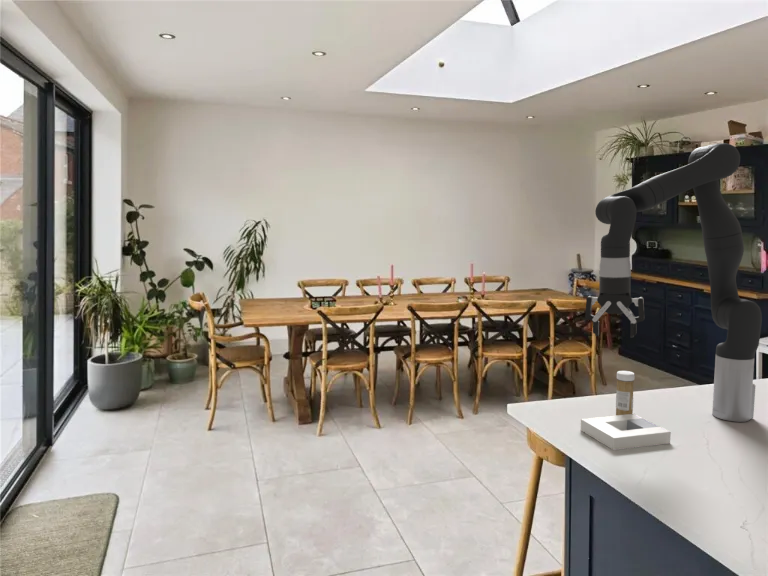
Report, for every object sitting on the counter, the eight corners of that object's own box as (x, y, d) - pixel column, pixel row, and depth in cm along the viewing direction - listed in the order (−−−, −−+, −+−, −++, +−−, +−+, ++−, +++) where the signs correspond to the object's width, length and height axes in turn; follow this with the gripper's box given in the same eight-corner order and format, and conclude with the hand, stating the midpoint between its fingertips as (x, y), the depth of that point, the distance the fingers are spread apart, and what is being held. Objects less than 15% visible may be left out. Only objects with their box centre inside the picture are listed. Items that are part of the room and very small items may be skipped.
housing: (633, 424, 160) (633, 413, 160) (670, 443, 147) (670, 431, 146) (580, 430, 156) (580, 419, 156) (613, 450, 143) (614, 438, 142)
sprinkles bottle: (636, 420, 163) (638, 372, 162) (626, 423, 161) (628, 375, 159) (621, 415, 167) (623, 369, 165) (611, 419, 165) (613, 371, 163)
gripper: (645, 273, 153) (644, 335, 155) (587, 273, 160) (587, 332, 162) (644, 276, 147) (643, 340, 149) (584, 275, 153) (583, 337, 155)
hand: (614, 336), depth 155 cm, fingers open, 8 cm apart
